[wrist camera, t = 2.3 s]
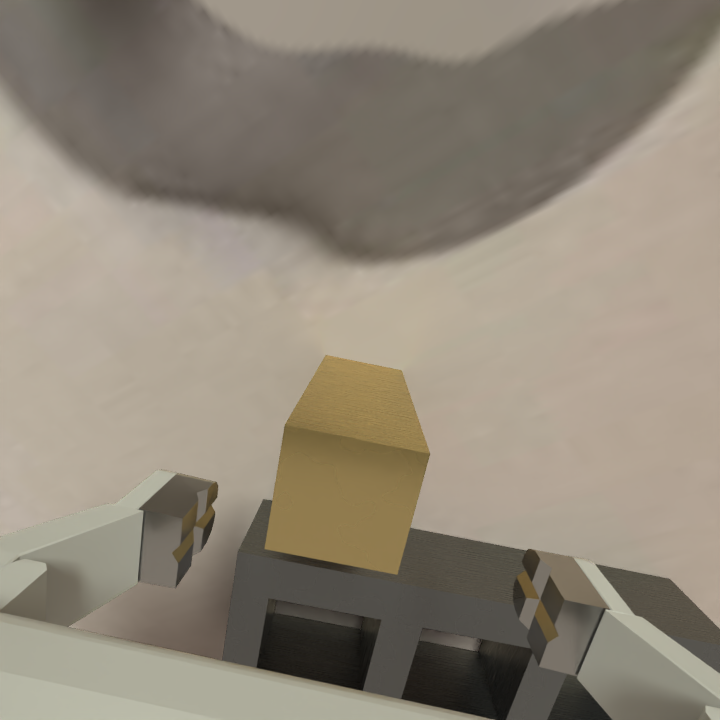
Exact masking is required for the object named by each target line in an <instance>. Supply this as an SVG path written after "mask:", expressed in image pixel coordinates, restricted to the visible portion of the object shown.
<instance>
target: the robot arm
mask: <svg viewBox="0 0 720 720" xmlns="http://www.w3.org/2000/svg"><path fill="white" fill-rule="evenodd" d="M217 494H218V484H217V482H215V481H211V480H206V479H202V478H198V477H194V476H189V475H185V474H181V473H180V474H179V473H177V472H172V471H167V470H162V469H161V470H156V471H155V472H154V473H153V474H151V475H150V476H149V477H148V478H146V479H145V480H144V481H143V482H142V483H140V484H139V485H138V486H137V487H135V488H134V489H133V490H132V491H131V492H129V493H128V494H127V495H126V496H124V497H123V498H122V499H121V500H119V501H118V502H117V503H116V504H115V505H114V504H109V503H108V504H104V505H101V506H98V507H95V508H91V509H88V510H85V511H82V512H78V513H75V514H72V515H68V516H65V517H62V518H59V519H55V520H52V521H49V522H46V523H42V524H39V525H36V526H33V527H29V528H26V529H23V530H19V531H16V532H13V533H10V534H6V535H3V536H0V720H494V719H490V718H485V717H481V716H476V715H472V714H467V713H462V712H458V711H453V710H449V709H444V708H440V707H435V706H430V705H426V704H421V703H417V702H412V701H407V700H403V699H398V698H393V697H389V696H384V695H380V694H375V693H370V692H366V691H361V690H356V689H352V688H347V687H343V686H338V685H333V684H329V683H324V682H319V681H315V680H310V679H306V678H301V677H296V676H292V675H287V674H282V673H278V672H273V671H269V670H264V669H259V668H255V667H250V666H246V665H241V664H236V663H232V662H227V661H222V660H218V659H213V658H209V657H204V656H199V655H195V654H190V653H186V652H181V651H176V650H172V649H167V648H163V647H158V646H153V645H149V644H144V643H140V642H135V641H130V640H126V639H121V638H117V637H112V636H107V635H103V634H98V633H94V632H89V631H84V630H80V629H75V628H71V627H69V626H70V625H72V624H73V623H75V622H77V621H78V620H80V619H81V618H83V617H85V616H86V615H88V614H90V613H91V612H93V611H94V610H96V609H98V608H99V607H101V606H103V605H104V604H106V603H107V602H109V601H111V600H112V599H114V598H115V597H117V596H119V595H120V594H122V593H124V592H125V591H127V590H128V589H130V588H132V587H133V586H135V585H136V584H137V583H138V582H143V583H148V584H154V585H159V586H165V587H170V588H176V587H177V585H178V584H179V582H180V581H181V579H182V578H183V577H184V575H185V574H186V572H187V571H188V569H189V568H190V566H191V561H192V556H193V555H195V554H197V553H198V552H200V551H201V550H202V548H203V547H204V545H205V544H206V542H207V540H208V537H209V535H210V533H211V530H212V527H213V523H214V518H215V511H214V509H213V507H212V506H211V505H212V503H213V502H214V501H215V499H216V498H217ZM522 564H523V566H524V569H525V571H523V572H522V573H521V574H519V575H518V576H516V580H515V583H514V586H513V603H514V608H515V611H516V614H517V616H518V619H519V620H520V621H521V622H522V623H523V624H524V625H525V626H526V627H527V628H528V629H529V631H528V634H527V637H526V638H527V640H528V643H529V645H530V647H531V650H532V652H533V654H534V657H535V659H536V661H537V664H538V666H539V667H542V668H546V669H550V670H554V671H558V672H562V673H566V674H570V675H574V676H577V679H578V680H579V681H580V683H581V684H582V685H583V686H584V687H585V688H586V690H587V691H588V692H589V693H590V694H591V695H592V697H593V698H594V699H595V700H596V701H597V702H598V704H599V705H600V706H601V707H602V708H603V709H604V711H605V712H606V713H607V714H608V715H609V716H610V718H611V719H612V720H720V673H718V672H717V671H715V670H714V669H713V668H711V667H710V666H709V665H707V664H706V663H704V662H703V661H702V660H700V659H699V658H698V657H696V656H695V655H693V654H692V653H691V652H689V651H688V650H687V649H685V648H684V647H682V646H681V645H680V644H678V643H677V642H675V641H674V640H673V639H671V638H670V637H669V636H667V635H666V634H664V633H663V632H662V631H660V630H659V629H658V628H656V627H655V626H653V625H652V624H651V623H649V622H648V621H647V620H645V619H644V618H642V617H639V616H635V615H634V613H633V612H632V611H631V610H630V608H629V607H628V606H627V605H626V603H625V602H624V601H623V599H622V598H621V597H620V596H619V594H618V593H617V592H616V591H615V589H614V588H613V587H612V585H611V584H610V583H609V582H608V580H607V579H606V578H605V576H604V575H603V574H602V573H601V571H600V570H599V569H598V568H597V566H596V565H595V564H594V563H593V562H591V561H590V560H588V559H583V558H578V557H572V556H564V555H559V554H554V553H549V552H544V551H539V550H533V549H528V550H527V551H526V552H525V554H524V556H523V559H522Z"/></svg>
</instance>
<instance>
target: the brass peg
mask: <svg viewBox="0 0 720 720" xmlns="http://www.w3.org/2000/svg"><path fill="white" fill-rule="evenodd" d="M429 456H430V452H429V449H428V446H427V443H426V440H425V438H424V435H423V432H422V429H421V426H420V423H419V420H418V417H417V414H416V411H415V408H414V405H413V402H412V399H411V396H410V393H409V391H408V388H407V385H406V382H405V379H404V376H403V373H402V370H397V369H392V368H387V367H382V366H377V365H372V364H367V363H362V362H357V361H352V360H347V359H343V358H338V357H333V356H328V355H326V356H325V357H324V359H323V361H322V363H321V364H320V366H319V368H318V369H317V371H316V373H315V374H314V376H313V378H312V380H311V381H310V383H309V385H308V386H307V388H306V390H305V391H304V393H303V395H302V397H301V398H300V400H299V402H298V403H297V405H296V407H295V409H294V410H293V412H292V414H291V415H290V417H289V419H288V420H287V422H286V424H285V427H284V434H283V440H282V446H281V452H280V458H279V464H278V470H277V476H276V482H275V488H274V494H273V500H272V506H271V512H270V518H269V524H268V530H267V537H266V543H265V549H267V550H272V551H277V552H282V553H288V554H293V555H298V556H303V557H308V558H313V559H319V560H324V561H329V562H334V563H339V564H344V565H350V566H355V567H360V568H365V569H370V570H375V571H380V572H386V573H391V574H396V575H397V574H398V571H399V567H400V563H401V559H402V556H403V552H404V548H405V545H406V541H407V537H408V534H409V530H410V526H411V522H412V519H413V515H414V511H415V508H416V504H417V500H418V497H419V493H420V489H421V485H422V482H423V478H424V474H425V471H426V467H427V463H428V460H429Z"/></svg>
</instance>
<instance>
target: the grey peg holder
mask: <svg viewBox="0 0 720 720" xmlns="http://www.w3.org/2000/svg"><path fill="white" fill-rule="evenodd" d="M271 506H272V501H270V500H264V499H263V501H262V503H261V506H260V508H259V510H258V512H257V514H256V516H255V518H254V520H253V522H252V524H251V526H250V528H249V530H248V532H247V534H246V536H245V538H244V540H243V543H242V545H241V547H240V549H239V551H238V555H237V562H236V569H235V576H234V583H233V590H232V597H231V603H230V610H229V617H228V624H227V631H226V638H225V645H224V652H223V658H222V661H227V662H232V663H236V664H241V665H246V666H250V667H255V668H259V669H264V670H269V671H273V672H278V673H282V674H287V675H292V676H296V677H301V678H306V679H310V680H315V681H319V682H324V683H329V684H333V685H338V686H343V687H347V688H352V689H356V690H361V691H366V692H370V693H375V694H380V695H384V696H389V697H393V698H398V699H403V700H407V701H412V702H417V703H421V704H426V705H430V706H435V707H440V708H444V709H449V710H453V711H458V712H462V713H467V714H472V715H476V716H481V717H485V718H490V719H494V720H612V719H611V718H610V716H609V715H608V714H607V713H606V712H605V711H604V709H603V708H602V707H601V706H600V705H599V704H598V702H597V701H596V700H595V699H594V698H593V697H592V695H591V694H590V693H589V692H588V691H587V690H586V688H585V687H584V686H583V685H582V684H581V683H580V681H579V680H578V679H577V676H574V675H570V674H566V673H562V672H558V671H554V670H550V669H546V668H542V667H539V666H538V664H537V661H536V659H535V657H534V654H533V652H532V650H531V647H530V645H529V643H528V640H527V638H526V637H527V634H528V631H529V629H528V628H527V627H526V626H525V625H524V624H523V623H522V622H521V621H520V620H519V619H518V616H517V614H516V611H515V608H514V603H513V586H514V583H515V580H516V576H518V575H519V574H521V573H522V572H523V571H525V569H524V566H523V564H522V559H523V556H524V554H525V552H526V551H524V550H519V549H514V548H509V547H504V546H499V545H494V544H489V543H483V542H478V541H473V540H468V539H463V538H458V537H453V536H448V535H443V534H438V533H433V532H427V531H422V530H417V529H412V528H410V530H409V534H408V537H407V541H406V545H405V548H404V552H403V556H402V559H401V563H400V567H399V571H398V574H397V575H396V574H391V573H386V572H380V571H375V570H370V569H365V568H360V567H355V566H350V565H344V564H339V563H334V562H329V561H324V560H319V559H313V558H308V557H303V556H298V555H293V554H288V553H282V552H277V551H272V550H267V549H265V543H266V537H267V530H268V524H269V518H270V512H271ZM595 565H596V564H595ZM596 566H597V568H598V569H599V570H600V571H601V573H602V574H603V575H604V576H605V578H606V579H607V580H608V582H609V583H610V584H611V585H612V587H613V588H614V589H615V591H616V592H617V593H618V594H619V596H620V597H621V598H622V599H623V601H624V602H625V603H626V605H627V606H628V607H629V608H630V610H631V611H632V612H633V613H634V615H635V616H639V617H642V618H644V619H645V620H647V621H648V622H649V623H651V624H652V625H653V626H655V627H656V628H658V629H659V630H660V631H662V632H663V633H664V634H666V635H667V636H669V637H670V638H671V639H673V640H674V641H675V642H677V643H678V644H680V645H681V646H682V647H684V648H685V649H687V650H688V651H689V652H691V653H692V654H693V655H695V656H696V657H698V658H699V659H700V660H702V661H703V662H704V663H706V664H707V665H709V666H710V667H711V668H713V669H714V670H715V671H717V672H718V673H720V629H719V628H718V627H717V626H716V625H715V624H714V623H713V622H712V621H711V620H710V619H709V618H708V617H707V616H706V615H705V614H704V613H703V612H702V611H701V610H700V609H699V608H698V607H697V606H696V605H695V604H694V603H693V602H692V601H691V600H690V599H689V598H688V597H687V596H686V595H685V594H684V593H683V592H682V591H681V590H680V589H679V588H678V587H677V586H676V585H675V584H674V583H673V582H672V581H671V580H670V579H667V578H662V577H657V576H652V575H647V574H641V573H636V572H631V571H626V570H621V569H616V568H611V567H606V566H601V565H596ZM276 600H281V601H286V602H291V603H296V604H301V605H307V606H312V607H317V608H322V609H327V610H333V611H338V612H343V613H348V614H354V615H359V616H364V620H363V624H362V628H361V630H360V629H354V628H349V627H344V626H339V625H333V624H328V623H323V622H318V621H312V620H307V619H302V618H297V617H292V616H286V615H281V614H276V613H274V611H275V606H276ZM422 628H427V629H432V630H437V631H442V632H447V633H453V634H458V635H463V636H468V637H473V638H479V639H483V641H482V644H481V647H480V649H479V652H475V651H469V650H464V649H459V648H454V647H448V646H443V645H438V644H433V643H428V642H422V641H419V638H420V635H421V631H422Z"/></svg>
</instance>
